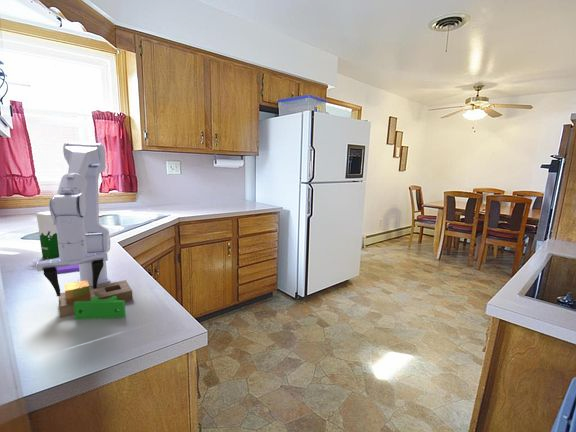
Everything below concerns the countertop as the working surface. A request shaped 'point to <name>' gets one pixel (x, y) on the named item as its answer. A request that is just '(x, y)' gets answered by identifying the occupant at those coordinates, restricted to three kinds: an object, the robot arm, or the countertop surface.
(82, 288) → the orange block
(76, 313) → the pipe clamp
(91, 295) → the board
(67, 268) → the bracket
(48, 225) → the milk carton
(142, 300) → the countertop surface
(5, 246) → the countertop surface
